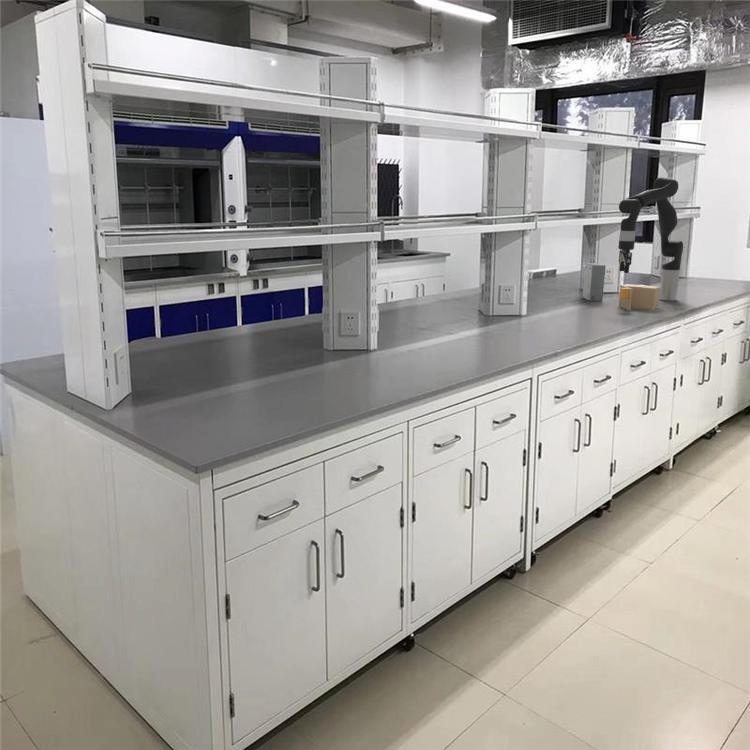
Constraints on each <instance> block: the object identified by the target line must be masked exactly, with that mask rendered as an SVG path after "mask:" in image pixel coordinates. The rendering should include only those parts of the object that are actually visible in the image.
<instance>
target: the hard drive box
mask: <svg viewBox="0 0 750 750" xmlns="http://www.w3.org/2000/svg"><path fill="white" fill-rule="evenodd" d="M584 264H585V265H584V277H583V289H582V298H583V299H585V300H587V301H596V302H598V301H599V302H600V301H601V302H602V301H603V297H604V286H605V277H606V276H605V275H606V267H607V266H606V265H605V264H602V263H597V262H585V263H584Z"/></svg>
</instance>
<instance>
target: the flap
mask: <svg viewBox="0 0 750 750" xmlns="http://www.w3.org/2000/svg"><path fill="white" fill-rule="evenodd" d="M624 285H625V284H620V285H619V286H620V288H619V298H618V306H619V307H620V308H623V309H625V310H627V311H629V312H630V311H631V310H632V309H631V308H632V307H631V300H632V290H633V289H631V288H628V287H626V286H624Z"/></svg>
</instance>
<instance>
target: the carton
mask: <svg viewBox="0 0 750 750" xmlns="http://www.w3.org/2000/svg"><path fill="white" fill-rule="evenodd" d="M623 285H624V286H626V287H628V288H631V289H633V290H632V300H631V308H635V309H644V310H653V311H654V310H656V309H659V307H660V290H661V287H660V286H655V285H646V284H631V283H626V284H625V283H624V284H623Z"/></svg>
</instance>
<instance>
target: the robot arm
mask: <svg viewBox="0 0 750 750" xmlns="http://www.w3.org/2000/svg"><path fill="white" fill-rule="evenodd" d="M652 188H653V189H648V190H644V191H642V192H640V193H638V194H636V195H633V196H629V197H626V198H623V199H622V200H621V201H620V202H619V204H618V210H619V211H620V213H622V214H628V217H627V218H623V219H622V220H621V221H620V231H619V235H618V236H619V237H618V245H617V246H618V249H619V256H618V262H619V263H618V264H619V272H623V273H624V274H629V272H630V266H631V265H632V259H633V257H632V256H633V252H631V251H632V250H634V249H635V243H636V240H635V239H636V226H637V220H638V218H639V215H640V213H641V210H642V208H645V207H647V206H649V205H651V204H652V203H656V209H657V218H658V224H659V231H660V232H659V233H660V249H661V250H660V251H661V254H662V257H666V258H673V260H672V261H669V262H666V263H663V264H662V268H661V277H660V286H659V287H661V290H660V300H661V301H669V302H670V301H673V302H674V301H677V299H678V298H677V297H678V289H679V279H680V271H681V265H682V256H683V251H684V242H683V241H682V240H673V239H671V240H670V238H669V236H670V235H671V234H672V232H673V231H674V230H675V229H676V227H677V226H678V214H677V211H676V208H675V207H674V206H673V205H672V203H671V202H670V200H669V198H672V197H674V196H675V195H676V194H677V193H678V190H679V182H678V181H677V180H676V179H673V178H668V177H664V176H659V177H657V178H656V179H655V181H654V183H653V187H652ZM660 300H659V301H660Z"/></svg>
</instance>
